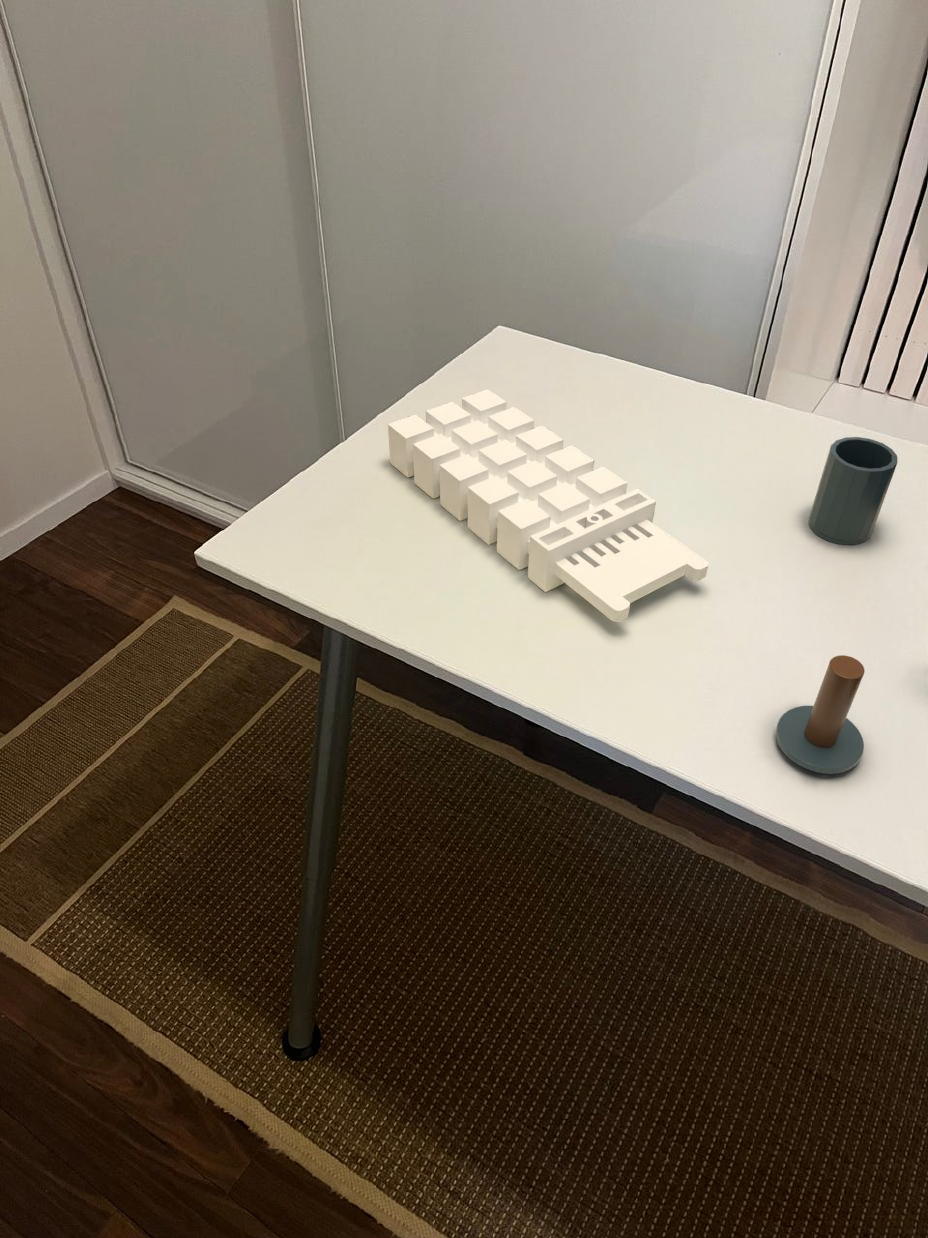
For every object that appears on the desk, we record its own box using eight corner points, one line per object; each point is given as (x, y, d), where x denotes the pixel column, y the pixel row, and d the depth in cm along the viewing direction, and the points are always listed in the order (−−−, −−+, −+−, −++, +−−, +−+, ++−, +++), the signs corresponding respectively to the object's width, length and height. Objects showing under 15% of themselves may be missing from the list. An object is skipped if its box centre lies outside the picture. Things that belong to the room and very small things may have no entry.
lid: (860, 726, 74) (893, 646, 68) (859, 788, 70) (895, 708, 64) (777, 707, 76) (803, 628, 70) (770, 767, 71) (798, 687, 65)
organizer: (487, 389, 105) (721, 545, 84) (486, 426, 108) (712, 586, 87) (387, 424, 99) (612, 601, 78) (390, 463, 102) (606, 643, 81)
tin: (871, 515, 95) (897, 442, 90) (871, 549, 91) (898, 475, 85) (810, 504, 97) (831, 432, 91) (807, 538, 93) (829, 464, 87)
